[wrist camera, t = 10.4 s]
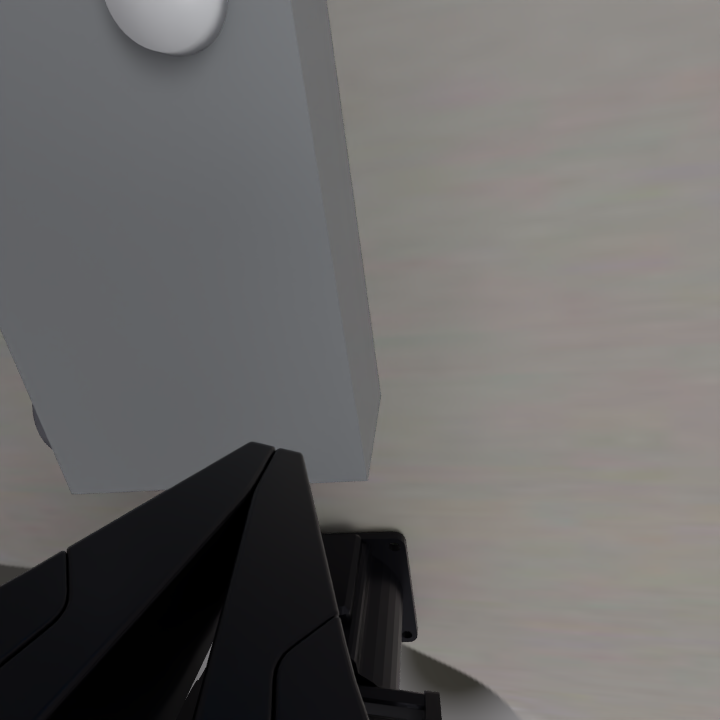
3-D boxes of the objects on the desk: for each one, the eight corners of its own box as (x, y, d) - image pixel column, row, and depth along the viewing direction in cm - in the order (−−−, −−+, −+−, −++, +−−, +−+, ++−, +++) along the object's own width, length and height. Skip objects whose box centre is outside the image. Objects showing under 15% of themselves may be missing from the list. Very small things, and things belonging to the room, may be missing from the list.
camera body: (381, 395, 21) (365, 497, 16) (114, 414, 23) (13, 512, 17) (298, -205, 14) (212, -423, 8) (-78, -110, 16) (-358, -235, 10)
